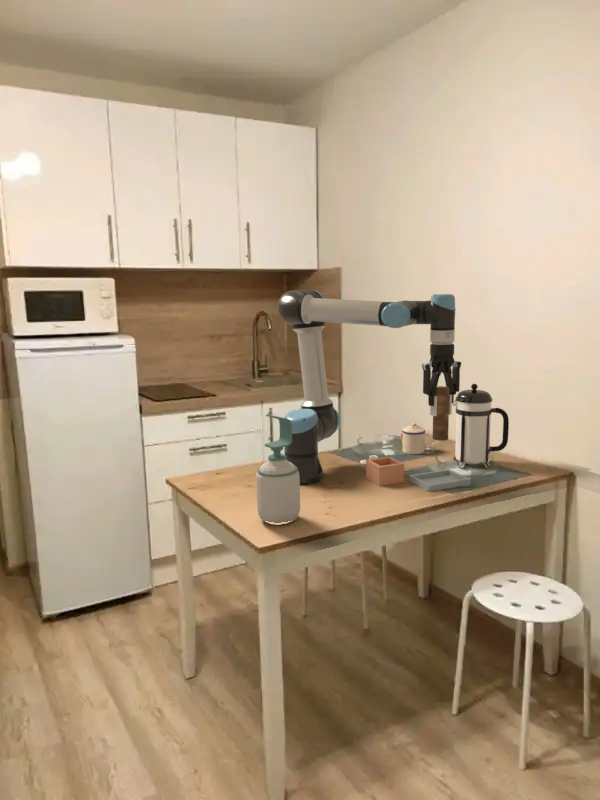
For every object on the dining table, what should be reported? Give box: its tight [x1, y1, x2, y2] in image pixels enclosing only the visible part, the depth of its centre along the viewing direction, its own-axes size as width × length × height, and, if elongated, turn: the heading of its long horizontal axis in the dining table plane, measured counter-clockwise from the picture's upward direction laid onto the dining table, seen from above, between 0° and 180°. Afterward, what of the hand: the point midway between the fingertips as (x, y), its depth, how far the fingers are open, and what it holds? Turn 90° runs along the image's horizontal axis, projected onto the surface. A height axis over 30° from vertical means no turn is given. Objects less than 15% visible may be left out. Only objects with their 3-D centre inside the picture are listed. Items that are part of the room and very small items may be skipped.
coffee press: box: [452, 383, 510, 466], centre depth 222 cm, size 17×16×30 cm
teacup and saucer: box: [359, 454, 379, 466], centre depth 225 cm, size 9×8×4 cm
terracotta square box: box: [365, 456, 405, 487], centre depth 207 cm, size 9×9×7 cm
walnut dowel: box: [432, 385, 450, 442], centre depth 199 cm, size 5×5×17 cm
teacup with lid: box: [400, 422, 426, 455], centre depth 243 cm, size 12×9×12 cm
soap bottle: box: [255, 413, 301, 523], centre depth 173 cm, size 12×12×31 cm
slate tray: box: [408, 468, 471, 493], centre depth 203 cm, size 16×12×2 cm
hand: (440, 414), depth 199 cm, fingers closed on walnut dowel, 5 cm apart
